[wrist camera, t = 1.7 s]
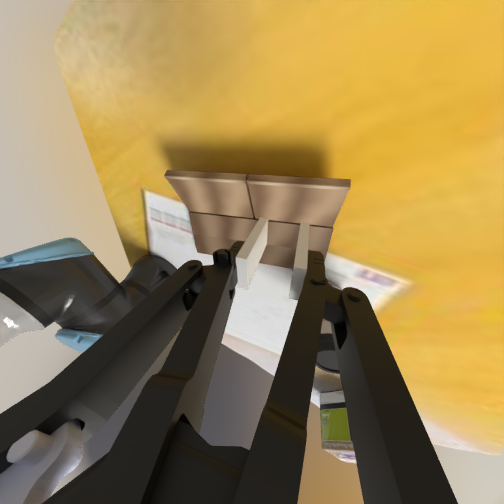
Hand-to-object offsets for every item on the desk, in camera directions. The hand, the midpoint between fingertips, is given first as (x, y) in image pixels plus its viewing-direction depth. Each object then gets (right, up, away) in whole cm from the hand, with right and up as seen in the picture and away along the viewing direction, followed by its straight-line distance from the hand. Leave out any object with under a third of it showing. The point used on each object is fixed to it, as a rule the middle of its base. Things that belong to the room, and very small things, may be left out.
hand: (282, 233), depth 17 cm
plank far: (-10, +9, +15) cm, 20 cm away
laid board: (-2, +1, +21) cm, 21 cm away
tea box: (+30, -52, +46) cm, 76 cm away
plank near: (+4, +7, +12) cm, 14 cm away
